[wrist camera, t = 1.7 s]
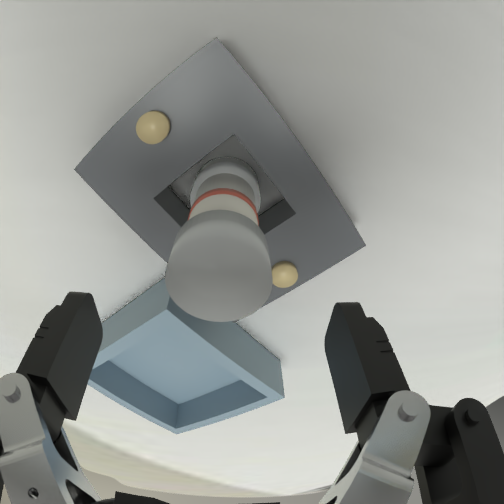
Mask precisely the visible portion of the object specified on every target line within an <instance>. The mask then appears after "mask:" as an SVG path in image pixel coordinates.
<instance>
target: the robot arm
mask: <svg viewBox="0 0 504 504" xmlns="http://www.w3.org/2000/svg"><path fill="white" fill-rule="evenodd" d="M102 339H103V328H102V324H101V321H100V318H99V315H98V312H97V308H96V305H95V302H94V298H93V296H92V294H90V293H83V292H69V293H68V294H67V296H66V297H65V299H64V301H63V303H62V304H61V306H60V305H56V306H55V307H54V308H53V309H52V310H51V311H50V312H49V313H48V314H46V316H45V318H44V319H43V321H42V323H41V325H40V328H38V330H37V332H36V334H35V338H33V340H32V341H31V343H30V345H29V347H28V349H27V351H26V353H25V355H24V357H23V359H22V361H21V363H20V365H19V367H18V369H17V371H16V373H10V374H7V375H5V376H3V377H1V378H0V501H1V496H2V490H3V485H4V484H5V487H6V490H7V493H8V496H9V498H10V501H11V504H169V503H166V502H164V501H161V500H158V499H155V498H151V497H144V496H138V495H132V494H127V493H121V492H117V491H116V493H115V498H111V499H105V500H101V498H100V496H99V495H98V493H97V491H96V490H95V488H94V487H93V486H92V484H91V483H90V482H89V481H88V479H87V478H86V476H85V475H84V473H83V471H82V469H81V467H80V465H79V463H78V460H77V458H76V456H75V454H74V452H73V449H72V447H71V445H70V443H69V440H68V438H67V435H66V433H65V431H64V428H63V427H62V424H63V421H64V418H66V419H70V420H75V421H76V418H77V415H78V412H79V408H80V405H81V402H82V399H83V396H84V393H85V389H86V386H87V383H88V380H89V377H90V374H91V371H92V369H93V366H94V363H95V360H96V357H97V354H98V352H99V349H100V346H101V343H102ZM325 353H326V357H327V360H328V364H329V368H330V372H331V376H332V380H333V384H334V388H335V392H336V396H337V400H338V404H339V409H340V413H341V417H342V421H343V426H344V430H345V434H347V433H354V432H357V435H358V439H359V440H358V441H357V443H356V445H355V447H354V448H353V450H352V452H351V454H350V456H349V458H348V459H347V461H346V463H345V465H344V466H343V468H342V470H341V471H340V473H339V475H338V477H337V478H336V480H335V481H334V483H333V485H332V486H331V488H330V489H329V491H328V492H327V493H326V494H325V496H324V497H323V498H322V500H321V501H320V502H319V504H407V501H408V499H409V497H410V495H411V492H412V489H413V486H414V479H412V478H411V472H412V469H413V467H414V466H415V470H416V474H417V479H418V483H419V488H420V492H421V498H422V503H423V504H504V454H503V451H502V448H501V445H500V442H499V439H498V437H497V434H496V432H495V429H494V426H493V424H492V421H491V419H490V416H489V414H488V411H487V409H486V408H485V406H484V405H483V404H482V403H481V402H479V401H478V400H475V399H472V398H465V399H462V400H460V401H459V402H458V403H457V404H456V405H455V406H454V407H453V408H450V407H440V406H432V405H428V403H427V401H426V400H425V399H424V398H423V397H422V396H421V395H419V394H417V393H415V392H413V391H410V389H409V386H408V384H407V381H406V379H405V377H404V374H403V372H402V369H401V367H400V365H399V362H398V360H397V358H396V355H395V353H393V348H392V346H391V344H390V342H389V339H388V337H387V335H386V333H385V331H384V328H383V327H382V326H381V325H380V324H379V323H378V322H377V321H376V320H375V319H374V318H373V317H366V316H365V313H364V311H363V309H362V307H361V305H360V303H358V302H343V303H336V304H335V306H334V309H333V312H332V315H331V319H330V322H329V325H328V329H327V332H326V335H325ZM256 504H280V502H278V503H256Z"/></svg>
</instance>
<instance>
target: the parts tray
mask: <svg viewBox="0 0 504 504" xmlns="http://www.w3.org/2000/svg"><path fill="white" fill-rule="evenodd" d="M102 328H103V339H102V343H101V346H100V349H99V352H98V354H97V357H96V360H95V363H94V366H93V369H92V371H91V374H90V377H89V380H88V383H87V384H88V385H90V386H91V387H93V388H94V389H96V390H97V391H99V392H101V393H102V394H104V395H105V396H107V397H109V398H110V399H112V400H114V401H115V402H117V403H119V404H120V405H122V406H124V407H126V408H127V409H129V410H131V411H133V412H134V413H136V414H138V415H140V416H142V417H144V418H146V419H147V420H149V421H151V422H153V423H155V424H157V425H159V426H161V427H163V428H165V429H167V430H169V431H171V432H173V433H175V434H179V433H183V432H186V431H190V430H193V429H196V428H200V427H203V426H206V425H210V424H213V423H216V422H219V421H222V420H225V419H228V418H231V417H234V416H237V415H240V414H243V413H245V412H248V411H251V410H254V409H256V408H259V407H262V406H264V405H267V404H270V403H272V402H275V401H277V400H280V399H282V398H285V396H284V388H283V379H282V371H281V363H280V360H279V359H278V358H276V357H275V356H274V355H273V354H272V353H270V352H269V351H268V350H267V349H266V348H264V347H263V346H262V345H261V344H260V343H258V342H257V341H256V340H255V339H254V338H253V337H251V336H250V335H249V334H248V333H247V332H246V331H244V330H243V329H242V328H241V327H240V326H239V325H237V324H236V323H235V322H234V323H233V322H232V321H229V322H213V321H207V320H203V319H200V318H197V317H194V316H192V315H190V314H188V313H187V312H185V311H184V310H182V309H181V308H180V307H179V306H178V305H177V304H176V303H175V302H174V301H173V300H172V298H171V297H170V295H169V293H168V291H167V288H166V284H165V278H164V279H162V280H161V281H159V282H158V283H157V284H155V285H154V286H152V287H151V288H150V289H148V290H147V291H146V292H144V293H143V294H141V295H140V296H139V297H137V298H136V299H134V300H133V301H132V302H130V303H129V304H128V305H126V306H125V307H123V308H122V309H121V310H119V311H118V312H117V313H115V314H114V315H112V316H111V317H110V318H108V319H107V320H106V321H104V322H103V323H102Z"/></svg>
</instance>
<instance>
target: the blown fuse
mask: <svg viewBox="0 0 504 504" xmlns="http://www.w3.org/2000/svg"><path fill="white" fill-rule="evenodd" d="M190 204H191V210H190V213H189V216H188V221H187V222H186V223H185V224H184V225H183V226H182V227H181V228H180V230H179V232H178V233H177V236H176V238H175V242H174V245H173V248H172V251H171V254H170V258H169V261H168V264H167V268H166V272H165V284H166V288H167V291H168V293H169V295H170V297H171V298H172V300H173V301H174V302H175V303H176V304H177V305H178V306H179V307H180V308H181V309H182V310H184V311H185V312H187V313H188V314H190V315H192V316H194V317H197V318H200V319H203V320H207V321H213V322H229V321H235V320H239V319H242V318H245V317H247V316H249V315H251V314H253V313H254V312H256V311H257V310H258V309H259V308H261V307H262V306H263V304H264V303H265V302H266V301H267V299H268V297H269V295H270V293H271V290H272V284H273V278H272V271H271V264H270V257H269V250H268V244H267V240H266V237H265V235H264V233H263V231H262V230H261V229H260V227H259V219H258V211H259V209H260V204H261V196H260V190H259V183H258V179H257V176H256V174H255V172H254V171H253V169H252V168H251V167H250V166H249V165H248V164H247V163H245V162H244V161H242V160H240V159H237V158H233V157H220V158H216V159H213V160H211V161H209V162H208V163H206V164H205V165H204V166H203V167H202V168H201V169H200V171H199V172H198V174H197V176H196V179H195V182H194V185H193V188H192V191H191V195H190Z"/></svg>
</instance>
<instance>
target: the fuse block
mask: <svg viewBox="0 0 504 504" xmlns="http://www.w3.org/2000/svg"><path fill="white" fill-rule="evenodd" d="M232 135H235V136H236V137H237V139H238V140H239V141H240V142H241V143H242V145H243V146H244V147H245V148H246V150H247V151H248V152H249V153H250V155H251V156H252V157H253V158H254V160H255V161H256V162H257V163H258V165H259V166H260V167H261V168H262V170H263V171H264V172H265V174H266V175H267V176H268V177H269V179H270V180H271V181H272V183H273V184H274V185H275V186H276V188H277V189H278V190H279V192H280V193H281V194H282V196H283V197H284V198H285V199H284V200H282V201H281V202H279V203H278V204H276V205H275V206H273V207H272V208H270V209H269V210H267V211H266V212H264V213H263V214H261V215H260V216H258V219H259V227H260V229H261V230H262V231H263V233H264V235H265V237H266V240H267V244H268V250H269V257H270V264H271V271H272V278H273V284H272V290H271V293H270V295H269V297H268V299H267V301H266V302H265V303H264V304H263V306H265V305H267V304H268V303H270V302H272V301H274V300H275V299H277V298H279V297H281V296H282V295H284V294H286V293H288V292H289V291H291V290H293V289H295V288H296V287H298V286H300V285H301V284H303V283H305V282H307V281H308V280H310V279H312V278H313V277H315V276H317V275H318V274H320V273H322V272H323V271H325V270H327V269H328V268H330V267H332V266H333V265H335V264H337V263H338V262H340V261H342V260H343V259H345V258H346V257H348V256H350V255H351V254H353V253H355V252H356V251H358V250H359V249H361V248H363V247H364V246H366V245H365V243H364V241H363V240H362V238H361V236H360V234H359V233H358V231H357V229H356V228H355V226H354V225H353V223H352V221H351V220H350V218H349V216H348V215H347V213H346V212H345V210H344V208H343V207H342V205H341V204H340V202H339V200H338V199H337V197H336V196H335V194H334V193H333V191H332V190H331V188H330V186H329V185H328V183H327V182H326V180H325V179H324V177H323V176H322V174H321V173H320V171H319V170H318V168H317V167H316V165H315V164H314V162H313V161H312V160H311V158H310V157H309V155H308V154H307V152H306V151H305V149H304V148H303V147H302V145H301V144H300V142H299V141H298V140H297V138H296V137H295V135H294V134H293V133H292V131H291V130H290V128H289V127H288V126H287V124H286V123H285V122H284V120H283V119H282V118H281V116H280V115H279V114H278V112H277V111H276V110H275V108H274V107H273V106H272V104H271V103H270V102H269V100H268V99H267V98H266V96H265V95H264V94H263V93H262V91H261V90H260V89H259V88H258V86H257V85H256V84H255V82H254V81H253V80H252V79H251V78H250V76H249V75H248V74H247V73H246V71H245V70H244V69H243V68H242V66H241V65H240V64H239V63H238V62H237V60H236V59H235V58H234V57H233V56H232V55H231V53H230V52H229V51H228V50H227V49H226V47H225V46H224V45H223V44H222V43H221V42H220V41H219V39H218V38H215V39H214V40H212V41H211V42H210V43H208V44H207V45H206V46H204V47H203V48H202V49H200V50H199V51H198V52H196V53H195V54H194V55H192V56H191V57H190V58H189V59H187V60H186V61H185V62H184V63H182V64H181V65H180V66H179V67H177V68H176V69H175V70H174V71H173V72H171V73H170V74H169V75H168V76H167V77H165V78H164V79H163V80H162V81H161V82H160V83H158V84H157V85H156V86H155V87H154V88H153V89H152V90H151V91H149V92H148V93H147V94H146V95H145V96H144V97H143V98H142V99H141V100H140V101H139V102H137V103H136V104H135V105H134V106H133V107H132V108H131V109H130V110H129V111H128V112H127V113H126V114H125V115H124V116H123V117H122V118H121V119H120V120H119V121H118V122H117V123H116V124H115V125H114V126H113V127H112V128H111V129H110V130H109V131H108V132H107V133H106V134H105V135H104V136H103V137H102V138H101V140H100V141H99V142H98V143H97V144H96V145H95V146H94V147H93V148H92V149H91V150H90V152H89V153H88V154H87V155H86V156H85V157H84V158H83V159H82V161H81V162H80V163H79V164H78V165H77V166H76V168H75V169H74V170H75V171H76V172H77V173H78V174H79V175H80V176H81V177H82V178H83V179H84V180H85V181H86V183H87V184H88V185H89V186H90V187H91V188H92V189H93V190H94V191H95V192H96V193H97V194H98V195H99V196H100V197H101V198H102V199H103V200H104V201H105V202H106V203H107V204H108V205H109V206H110V207H111V208H112V209H113V210H114V211H115V212H116V213H117V215H118V216H119V217H120V218H121V219H122V220H123V221H124V222H125V223H126V224H127V225H128V226H130V227H131V228H132V229H133V230H134V231H135V232H136V233H137V234H138V235H139V236H140V237H141V238H142V239H143V240H144V241H145V242H146V243H147V244H148V245H149V246H150V247H151V248H152V249H153V250H154V251H155V252H156V253H157V254H158V255H159V256H160V257H161V258H163V259H164V260H165V261H166V262H167V263H168V261H169V258H170V254H171V251H172V248H173V245H174V242H175V238H176V236H177V233H178V232H179V230H180V228H181V227H182V226H183V225H184V224H185V223H186V222H187V221H188V216H189V213H190V210H189V209H188V208H187V207H186V206H185V205H184V203H183V202H182V201H181V200H180V199H179V198H178V197H177V196H176V195H175V194H174V193H173V192H172V191H171V190H170V188H169V187H168V186H169V185H170V184H171V183H172V182H173V181H175V180H176V179H177V178H178V177H179V176H181V175H182V174H183V173H184V172H186V171H187V170H188V169H189V168H191V167H192V166H193V165H194V164H196V163H197V162H198V161H199V160H201V159H202V158H203V157H204V156H206V155H207V154H208V153H210V152H211V151H212V150H214V149H215V148H216V147H217V146H219V145H220V144H221V143H223V142H224V141H225V140H227V139H228V138H229V137H231V136H232ZM263 306H262V307H263ZM259 309H260V308H259ZM239 320H240V319H239ZM236 321H238V320H235V321H232V322H233V323H234V322H236Z"/></svg>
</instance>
